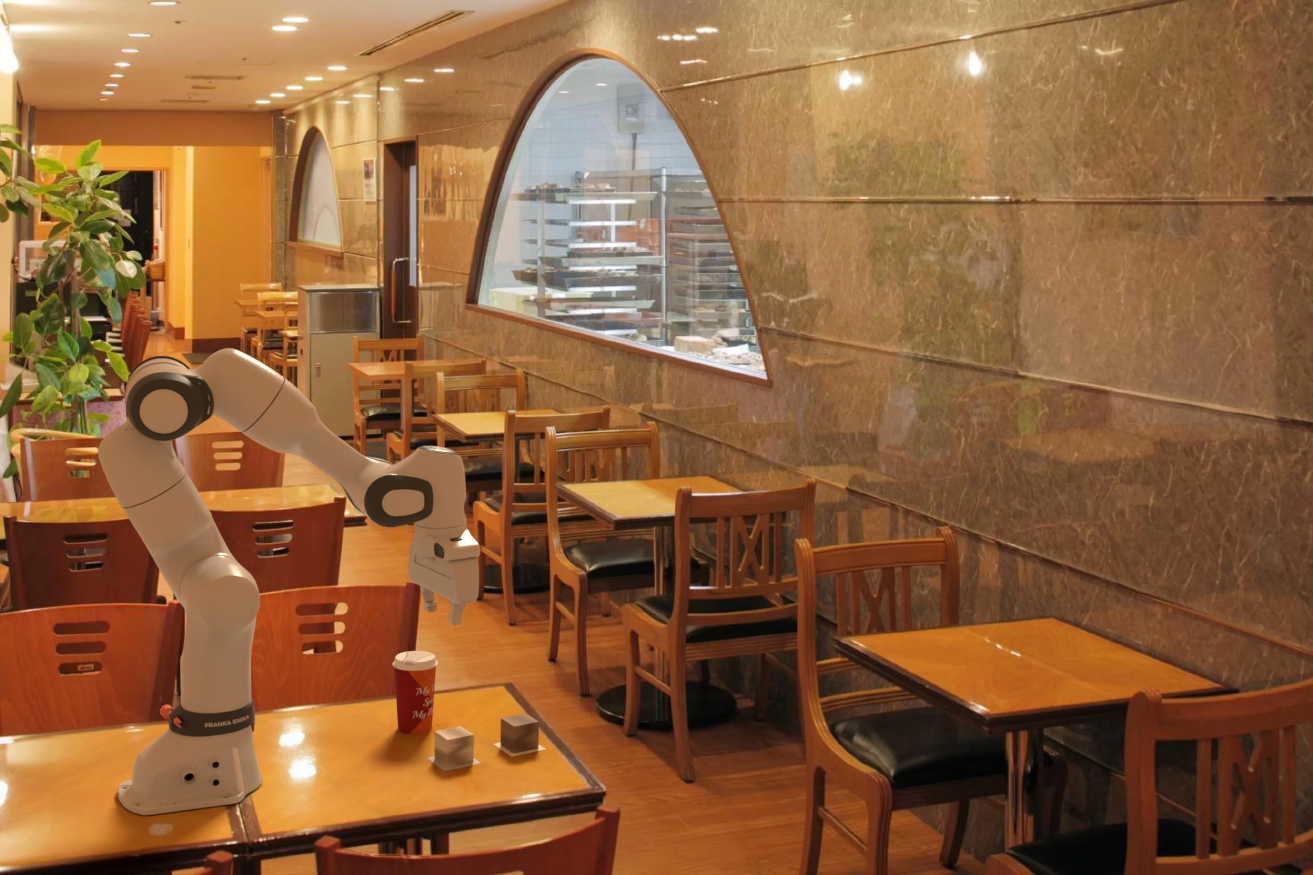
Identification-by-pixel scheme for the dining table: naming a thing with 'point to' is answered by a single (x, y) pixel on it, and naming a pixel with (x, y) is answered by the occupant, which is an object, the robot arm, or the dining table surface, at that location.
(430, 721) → the coffee cup
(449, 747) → the maple block
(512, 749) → the walnut block
